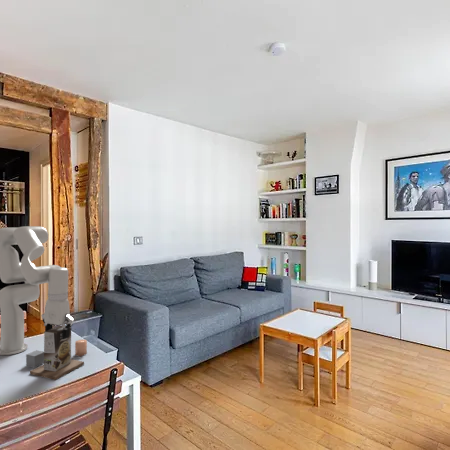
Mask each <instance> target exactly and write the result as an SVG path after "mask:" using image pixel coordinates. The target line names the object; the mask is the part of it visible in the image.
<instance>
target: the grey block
mask: <svg viewBox="0 0 450 450" xmlns="http://www.w3.org/2000/svg"><path fill="white" fill-rule="evenodd" d="M25 355H26V356H25V357H26V359H25V360H26V361H25V363H26V364H25V365H26V367H29V368H30V367H31V368H34V369H35V368H38V367H40V366H42V365H44V350H43V351H41V350H37V349H36V350H34V351H32V352H30V353H27V354H25Z"/></svg>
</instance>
